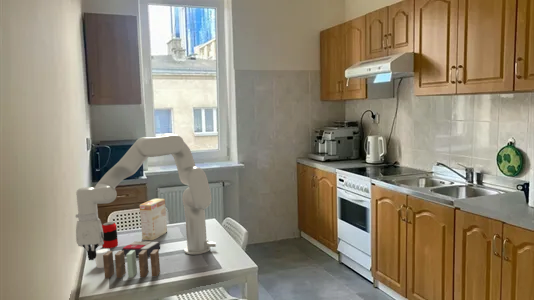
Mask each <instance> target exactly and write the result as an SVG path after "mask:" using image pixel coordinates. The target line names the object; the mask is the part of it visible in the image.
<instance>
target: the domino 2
mask: <svg viewBox="0 0 534 300" xmlns="http://www.w3.org/2000/svg"><path fill="white" fill-rule="evenodd" d="M114 263H115V264H114V265H115V275H116V279H118V278H119V279H122V278H123V277H124V276H125V274H126V273H127V270H126V258H125V255H124V251H122V250H118V251H117V252H116V253H115V254H114Z"/></svg>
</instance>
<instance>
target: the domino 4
mask: <svg viewBox="0 0 534 300" xmlns="http://www.w3.org/2000/svg"><path fill="white" fill-rule="evenodd" d="M137 256H138V267H139V277H140V278H146V276H147V275H148V274H149V273H148V272H149V260H148V259H149V256H147V250H142V251H141V252H140V253H139V254H138V255H137ZM147 273H148V274H147Z"/></svg>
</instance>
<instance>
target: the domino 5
mask: <svg viewBox="0 0 534 300" xmlns="http://www.w3.org/2000/svg"><path fill="white" fill-rule="evenodd" d="M159 251H160V249H159V250H158V249H155V250H153V251H152V252H151V253H150V256H149V257H150V269H151V270H150V271H151V277H152V276H157V275H158V276H159V274H160V273H161V266H160V253H159ZM159 272H160V273H159ZM158 276H157V277H158Z"/></svg>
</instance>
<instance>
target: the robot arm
mask: <svg viewBox="0 0 534 300" xmlns="http://www.w3.org/2000/svg"><path fill="white" fill-rule="evenodd" d="M170 155H171V156H172V158H173V159H174V162H175V164H176V169H177V173H178V178H179V180H180V183H182V184H183V185H185V186H188V187H187V188H186V189H184V190H183V193H182V196H181V198H182V204H183V208H184V209H183V210H184V217H185V218H184V219H185V232H186V244H187V246H186V247H184V249H183V250H184V253H185V254H187V255H192V256H193V255H195V256H196V255H202V254H205V253H208V252H209V251H210V250H211V248H216V246H217V245H216V244H217V243H216V242H215V241H209V239H208V238H207V224H206V211H205V210H206V209H208V207H210V205H211V203H212V191H211V189H210V185H209V181H208V180H209V179H208V177H207V174H206V172H205V171H204V169H203V168H201V167H198V166H196V163H195V160H194V156H193V153H192V151H191V149H190V147H189V146H188V145H187V143H186V142H185V140H184V139H183V137H182V136H181V135H179V134H175V133H163V134H161V135H160V136H158V137H157V136H156V137H147V136H143V137H139V138H138V139H136V141H135V142H134V143H133V144H132V145H131V147H130V148H129V149H128V150H127V151H126V153H125V154H124V155H123V156H122V157H121V158H120V159H119V161H117V163H115V164H114V165H113V166H112V167H111V168H110V169H108V171H107V172H106V173H105V174H104V175H103V176H102V177H101V178H100V180H99V181H98V182H97V183H96V185H94V186H93V187H92V186H86V187H85V186H84V187H81V188H78V189H77V190H76V192H75V193H76V203H77V204H76V205H77V214H75V218H76V219H77V221H76V226H75V240H76V241H75V242H76V244H77V246H78V247H82V248H83V249H85V251H86V253H87V258H88V261H94V260H95V258H96V250H97V249H98V247H101V246H102V245H103V244H104V242H103V239H104V235H103V228H102V225H103V223H102V221H101V219H100V218H99V212H98V211H99V210H98V204H99V205H101V204H110V203H113V202H114V201H115V200H116V199H117V195H118V194H117V190H116V187H118V185H119V184H120V183H122V181H123V180H125V179H127V178H129V177H132V176H133V175H134V174H136V172H138V170H139V169H140V167H142V166H143V164H144V163H145V161H146V160H147V159H148V158H155V157H164V156H170ZM102 247H103V246H102Z"/></svg>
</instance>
